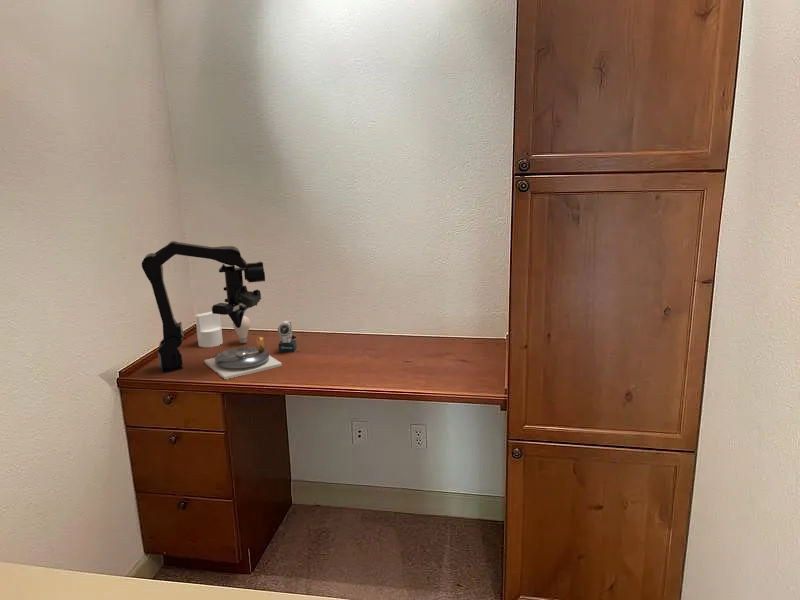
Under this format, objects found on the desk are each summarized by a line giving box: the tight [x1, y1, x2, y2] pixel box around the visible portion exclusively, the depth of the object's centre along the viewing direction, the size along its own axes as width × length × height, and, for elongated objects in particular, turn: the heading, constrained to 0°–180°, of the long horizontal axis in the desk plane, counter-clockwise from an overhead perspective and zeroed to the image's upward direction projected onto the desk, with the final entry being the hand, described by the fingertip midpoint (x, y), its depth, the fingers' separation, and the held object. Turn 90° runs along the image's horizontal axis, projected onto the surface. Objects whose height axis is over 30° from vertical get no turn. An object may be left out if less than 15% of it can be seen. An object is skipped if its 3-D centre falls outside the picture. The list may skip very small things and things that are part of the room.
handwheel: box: [214, 336, 270, 369], centre depth 208 cm, size 18×18×6 cm
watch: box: [277, 320, 298, 353], centre depth 221 cm, size 6×8×11 cm
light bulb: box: [232, 315, 252, 344], centre depth 230 cm, size 7×7×11 cm
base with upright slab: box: [194, 311, 224, 348], centre depth 230 cm, size 9×9×12 cm
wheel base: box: [204, 354, 283, 380], centre depth 209 cm, size 20×20×2 cm
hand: (238, 327), depth 210 cm, fingers closed
